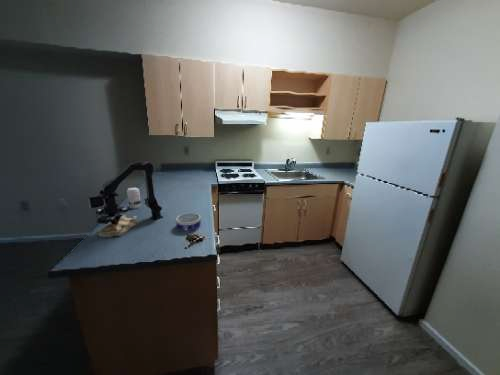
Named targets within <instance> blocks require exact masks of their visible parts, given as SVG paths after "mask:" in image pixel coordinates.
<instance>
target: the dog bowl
mask: <svg viewBox="0 0 500 375" xmlns="http://www.w3.org/2000/svg"><path fill="white" fill-rule="evenodd" d="M175 223H176V227H177V229H178V230H179V231H180V232H181V231H182V232H192V231H195V230H197V229H199V228H200V227H201V223H202V222H201V215H200V214H198V213H195V212H186V213H185V212H184V213H182V214H180V215H178V216H176V218H175Z"/></svg>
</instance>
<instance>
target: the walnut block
mask: <svg viewBox="0 0 500 375" xmlns="http://www.w3.org/2000/svg"><path fill="white" fill-rule="evenodd" d="M101 229H102V230H103V232H112V231H117V228H116V224H111V223H108V225H107V224H106V226H104V227H103V228H101Z"/></svg>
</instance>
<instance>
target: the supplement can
mask: <svg viewBox="0 0 500 375" xmlns="http://www.w3.org/2000/svg"><path fill="white" fill-rule="evenodd" d="M126 194H127V199H128V205H129V208H130V209H139V208H141V206H142V202H141V194H140V189H139V188H138V187H129V188H127V190H126Z"/></svg>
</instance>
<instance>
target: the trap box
mask: <svg viewBox="0 0 500 375" xmlns="http://www.w3.org/2000/svg"><path fill="white" fill-rule="evenodd" d="M110 224H112V223H111V222H110ZM136 225H138V217H137V215H134V216H133V217H127V214H124V215H122V216H121V217H120V220H119V222H118V225H117V227H116V228H117V231H112V232H103V230H102V228H101V229H100V230H98V231H97V235H98V237H103V238H113V237H121V236H123V235H125V233H127V232H128V231H130V230H131V229H132V228H133V227H135V226H136Z"/></svg>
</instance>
